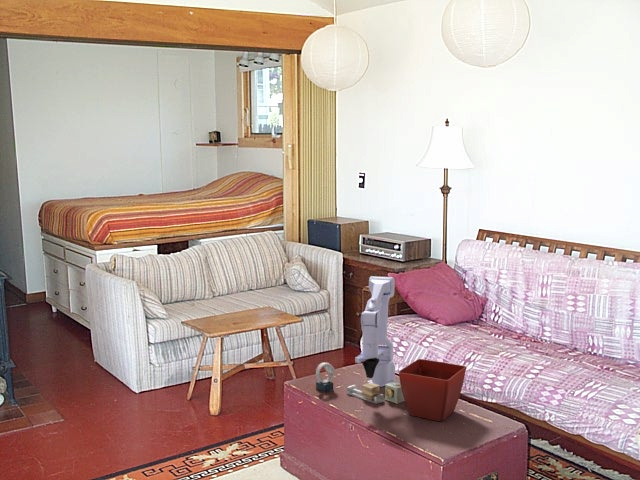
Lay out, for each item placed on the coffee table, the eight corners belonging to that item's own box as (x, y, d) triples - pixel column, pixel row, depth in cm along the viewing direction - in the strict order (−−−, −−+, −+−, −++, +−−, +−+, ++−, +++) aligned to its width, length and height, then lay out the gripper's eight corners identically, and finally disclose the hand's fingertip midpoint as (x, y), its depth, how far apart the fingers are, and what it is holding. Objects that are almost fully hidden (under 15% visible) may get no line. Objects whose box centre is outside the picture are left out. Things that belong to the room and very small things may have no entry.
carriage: (369, 393, 285) (369, 382, 284) (379, 396, 281) (379, 385, 280) (361, 396, 282) (361, 385, 281) (371, 399, 278) (371, 388, 277)
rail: (354, 391, 291) (354, 384, 290) (383, 401, 279) (383, 394, 279) (347, 393, 288) (347, 386, 287) (376, 404, 277) (376, 397, 276)
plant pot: (418, 400, 281) (418, 357, 278) (466, 409, 271) (467, 365, 269) (396, 416, 265) (397, 371, 262) (447, 427, 255) (448, 380, 252)
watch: (337, 389, 293) (337, 362, 292) (321, 393, 288) (321, 366, 286) (327, 385, 297) (327, 359, 296) (312, 390, 292) (312, 363, 291)
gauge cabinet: (395, 395, 286) (395, 380, 285) (407, 399, 281) (407, 383, 280) (385, 399, 282) (385, 383, 281) (396, 403, 277) (397, 387, 276)
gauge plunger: (397, 392, 284) (397, 384, 283) (403, 394, 282) (403, 386, 281) (385, 396, 279) (385, 389, 279) (391, 398, 277) (391, 391, 277)
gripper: (374, 336, 283) (374, 370, 285) (349, 344, 273) (349, 379, 275) (388, 340, 278) (388, 374, 280) (363, 348, 268) (363, 383, 270)
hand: (369, 377), depth 277 cm, fingers closed
